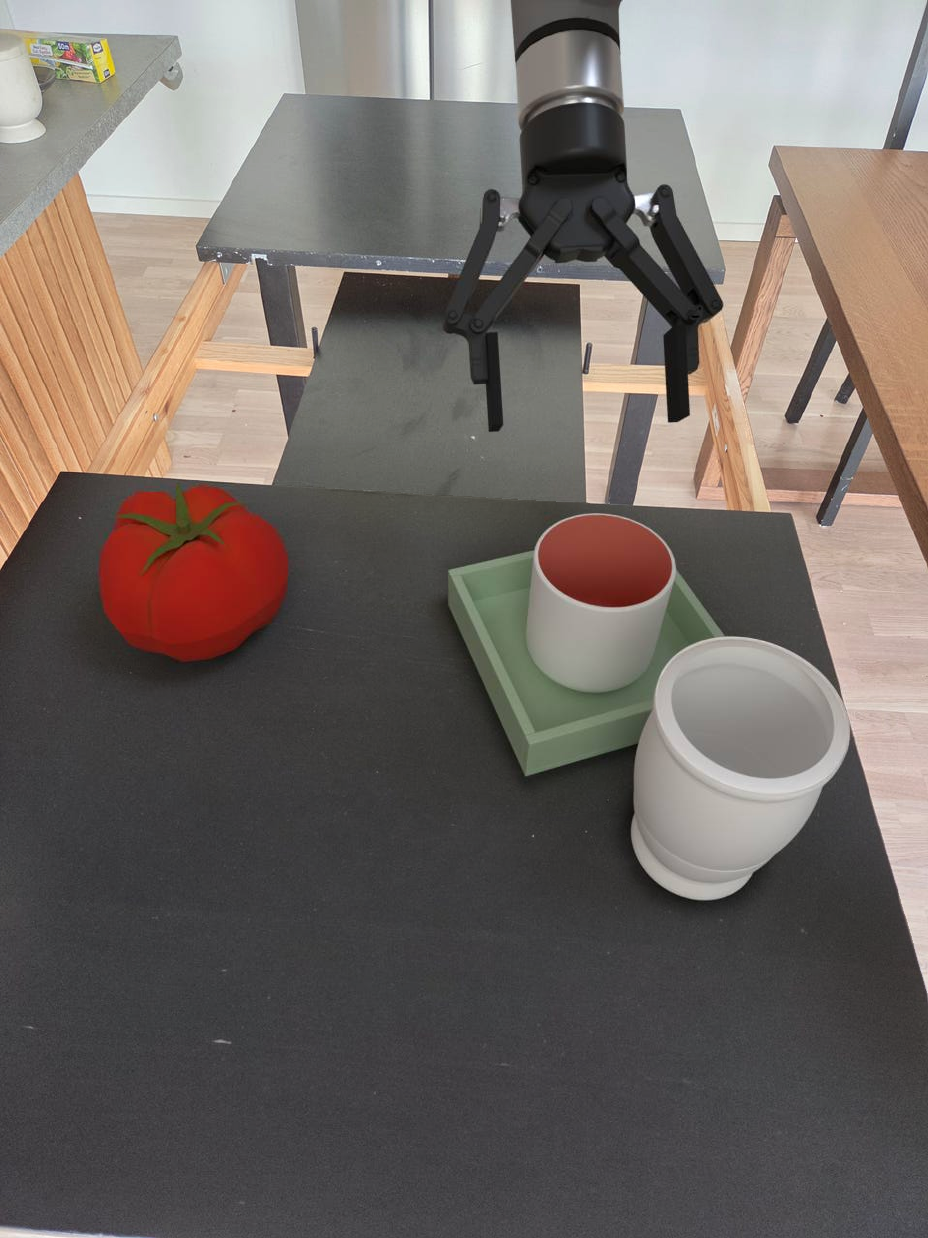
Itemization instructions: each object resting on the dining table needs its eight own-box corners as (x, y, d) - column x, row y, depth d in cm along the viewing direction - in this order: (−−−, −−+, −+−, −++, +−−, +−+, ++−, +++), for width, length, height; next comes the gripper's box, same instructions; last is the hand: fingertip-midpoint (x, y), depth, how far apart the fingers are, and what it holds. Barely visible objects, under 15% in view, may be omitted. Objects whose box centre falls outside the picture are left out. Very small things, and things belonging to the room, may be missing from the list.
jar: (642, 752, 61) (685, 611, 50) (786, 808, 58) (866, 672, 47) (592, 876, 55) (628, 746, 44) (751, 947, 52) (833, 827, 41)
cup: (504, 622, 69) (511, 530, 61) (613, 591, 71) (632, 499, 64) (557, 716, 62) (572, 626, 55) (674, 679, 65) (704, 588, 57)
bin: (741, 713, 64) (756, 679, 61) (525, 777, 60) (529, 744, 57) (636, 559, 75) (644, 524, 72) (448, 604, 71) (447, 569, 68)
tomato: (328, 612, 70) (311, 502, 61) (191, 719, 63) (149, 612, 54) (224, 542, 76) (195, 432, 67) (87, 633, 68) (33, 523, 59)
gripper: (719, 148, 65) (732, 424, 66) (397, 156, 63) (416, 441, 64) (761, 92, 58) (775, 404, 59) (397, 99, 56) (419, 422, 57)
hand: (588, 424), depth 62 cm, fingers open, 13 cm apart
